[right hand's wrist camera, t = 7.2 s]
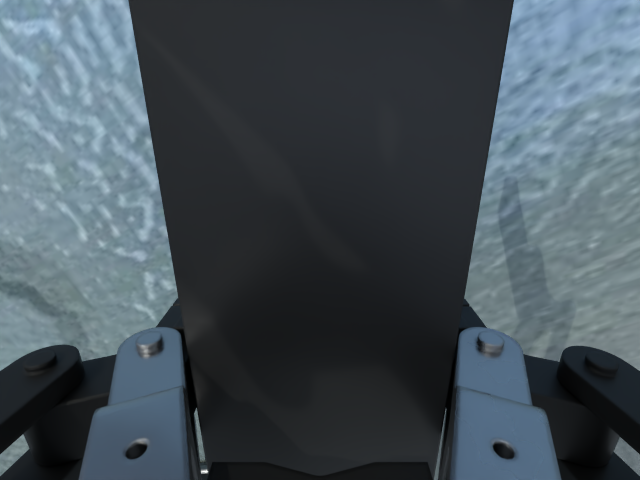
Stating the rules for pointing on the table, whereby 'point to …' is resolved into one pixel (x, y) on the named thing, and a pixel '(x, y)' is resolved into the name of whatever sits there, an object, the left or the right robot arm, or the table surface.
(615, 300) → the table surface
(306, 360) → the bar
